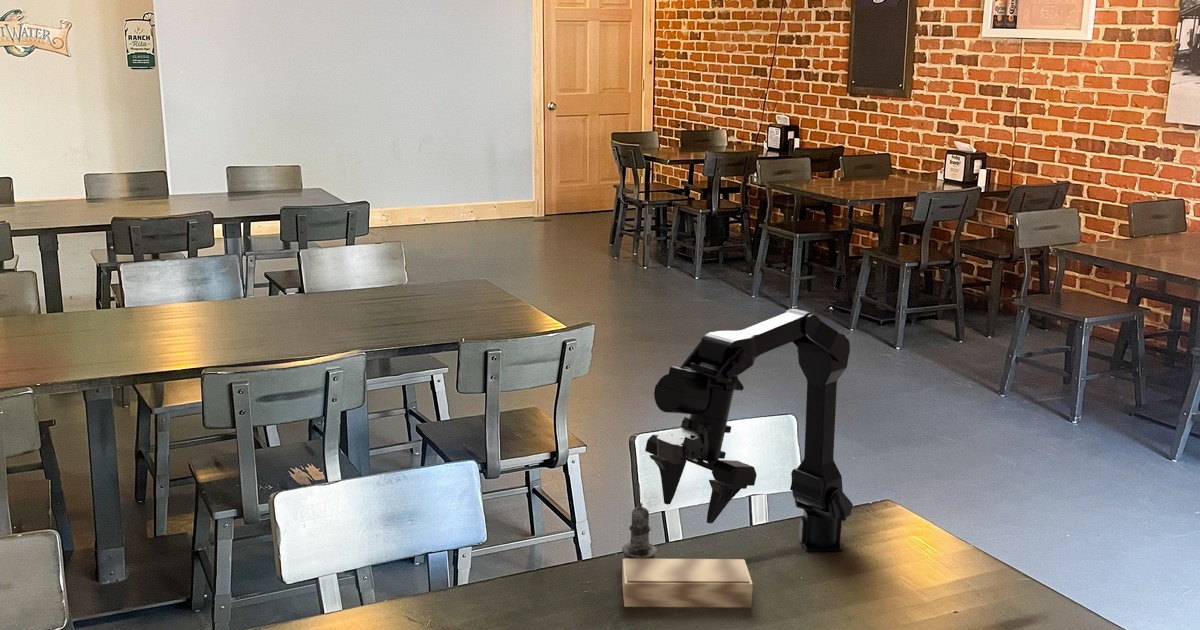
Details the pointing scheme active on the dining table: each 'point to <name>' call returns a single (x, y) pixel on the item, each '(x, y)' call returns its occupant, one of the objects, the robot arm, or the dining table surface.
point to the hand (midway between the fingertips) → (687, 513)
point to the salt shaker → (639, 536)
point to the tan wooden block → (686, 583)
